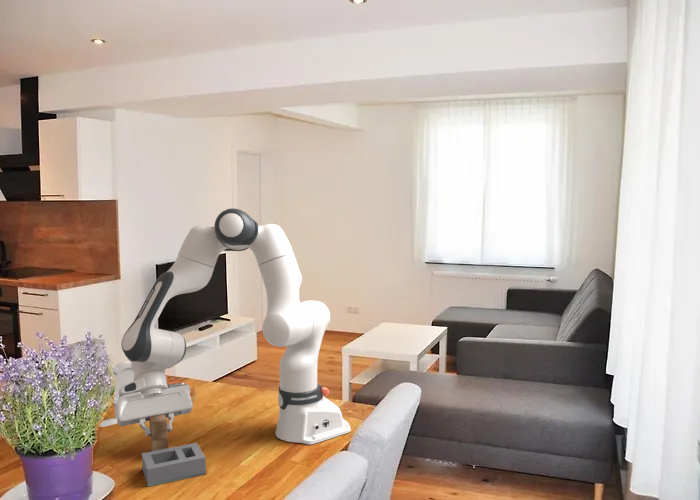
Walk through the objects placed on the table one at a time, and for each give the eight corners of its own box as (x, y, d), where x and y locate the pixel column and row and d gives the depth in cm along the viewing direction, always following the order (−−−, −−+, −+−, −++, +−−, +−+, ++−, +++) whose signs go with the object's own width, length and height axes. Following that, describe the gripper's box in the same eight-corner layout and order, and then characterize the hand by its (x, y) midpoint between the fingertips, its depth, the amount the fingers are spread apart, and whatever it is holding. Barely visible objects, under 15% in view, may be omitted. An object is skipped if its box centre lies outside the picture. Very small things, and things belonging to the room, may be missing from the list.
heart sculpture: (95, 428, 182) (92, 371, 180) (90, 423, 186) (87, 367, 184) (145, 415, 192) (143, 361, 190) (139, 411, 196) (137, 358, 194)
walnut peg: (166, 448, 167) (164, 414, 166) (168, 454, 163) (166, 419, 162) (151, 451, 165) (149, 416, 164) (153, 457, 162) (151, 421, 161)
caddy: (197, 458, 162) (196, 442, 161) (206, 474, 153) (205, 457, 152) (142, 469, 155) (141, 453, 155) (148, 486, 146) (147, 469, 146)
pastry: (198, 402, 205) (198, 391, 205) (178, 405, 202) (178, 394, 202) (194, 393, 214) (193, 383, 213) (174, 396, 211) (174, 385, 210)
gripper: (187, 386, 178) (196, 429, 170) (113, 399, 168) (119, 445, 161) (189, 376, 173) (198, 420, 166) (114, 388, 164) (120, 436, 156)
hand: (159, 433), depth 163 cm, fingers closed on walnut peg, 4 cm apart
